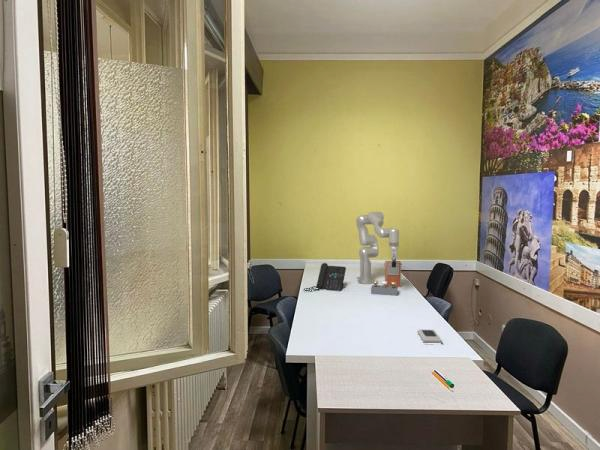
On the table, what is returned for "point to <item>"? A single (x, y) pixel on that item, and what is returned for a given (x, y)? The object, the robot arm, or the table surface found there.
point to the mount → (384, 290)
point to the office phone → (330, 278)
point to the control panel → (393, 273)
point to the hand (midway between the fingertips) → (394, 266)
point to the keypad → (429, 336)
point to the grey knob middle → (384, 283)
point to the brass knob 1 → (375, 283)
